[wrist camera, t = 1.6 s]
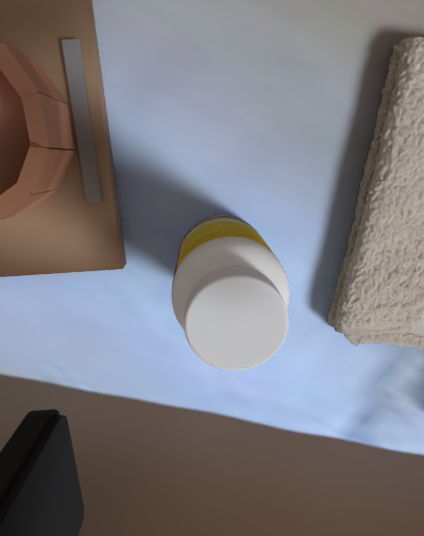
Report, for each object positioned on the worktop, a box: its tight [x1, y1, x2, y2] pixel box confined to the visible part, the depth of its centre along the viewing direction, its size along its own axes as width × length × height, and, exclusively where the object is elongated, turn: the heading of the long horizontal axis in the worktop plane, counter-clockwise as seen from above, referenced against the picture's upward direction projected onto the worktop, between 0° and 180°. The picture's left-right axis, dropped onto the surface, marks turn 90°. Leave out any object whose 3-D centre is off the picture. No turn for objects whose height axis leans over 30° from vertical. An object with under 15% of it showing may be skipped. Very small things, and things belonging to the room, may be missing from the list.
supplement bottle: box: [172, 215, 290, 370], centre depth 18 cm, size 5×5×10 cm
